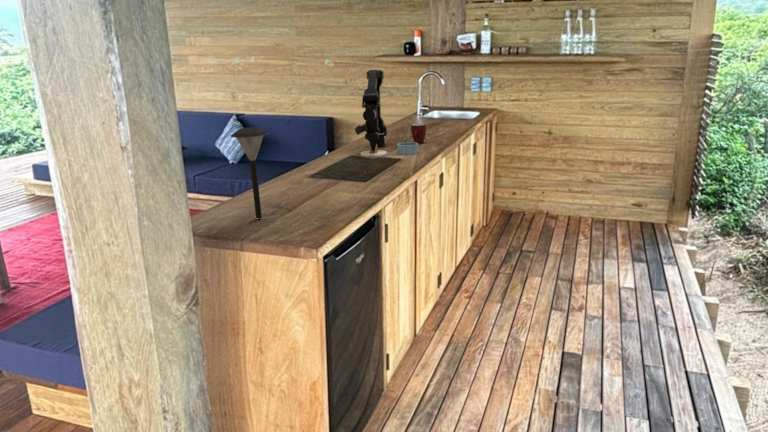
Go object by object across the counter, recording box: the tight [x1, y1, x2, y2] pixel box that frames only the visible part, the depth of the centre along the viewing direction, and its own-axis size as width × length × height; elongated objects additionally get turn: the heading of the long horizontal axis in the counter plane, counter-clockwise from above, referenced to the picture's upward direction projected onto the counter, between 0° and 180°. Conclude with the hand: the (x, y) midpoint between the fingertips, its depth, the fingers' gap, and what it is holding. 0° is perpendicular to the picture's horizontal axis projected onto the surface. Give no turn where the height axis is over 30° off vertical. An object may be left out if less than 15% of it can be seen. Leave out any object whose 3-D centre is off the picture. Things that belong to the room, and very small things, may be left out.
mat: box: [352, 151, 397, 160], centre depth 296 cm, size 16×16×1 cm
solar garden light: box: [230, 126, 270, 219], centre depth 194 cm, size 12×12×30 cm
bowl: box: [396, 141, 420, 156], centre depth 294 cm, size 10×10×5 cm
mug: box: [410, 123, 427, 145], centre depth 320 cm, size 10×8×10 cm
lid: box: [359, 143, 388, 158], centre depth 295 cm, size 13×13×5 cm
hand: (373, 150), depth 295 cm, fingers open, 4 cm apart
